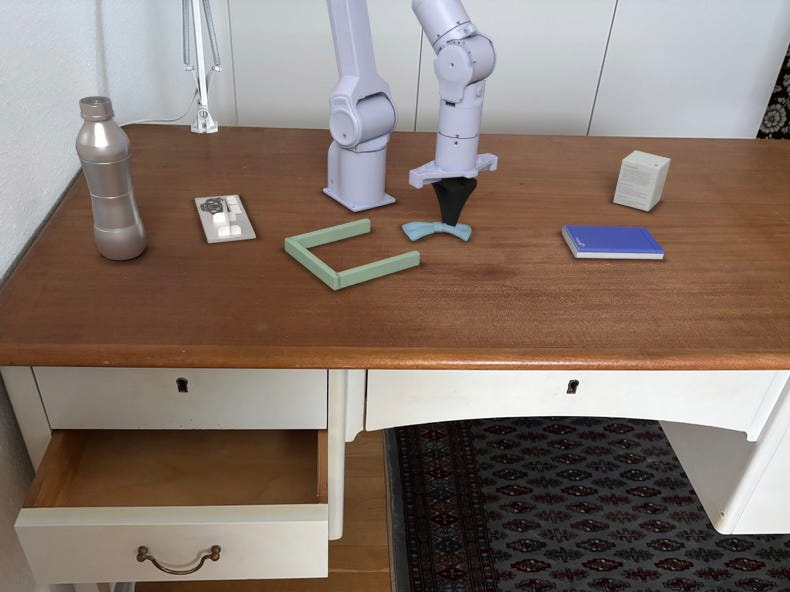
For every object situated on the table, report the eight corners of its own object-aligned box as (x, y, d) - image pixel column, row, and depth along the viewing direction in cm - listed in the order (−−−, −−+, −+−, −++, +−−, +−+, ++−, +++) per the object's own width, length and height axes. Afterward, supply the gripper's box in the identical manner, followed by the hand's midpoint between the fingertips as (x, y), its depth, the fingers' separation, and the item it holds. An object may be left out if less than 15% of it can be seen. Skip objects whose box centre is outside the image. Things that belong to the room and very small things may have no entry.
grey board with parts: (255, 238, 101) (254, 208, 99) (208, 243, 99) (204, 212, 97) (238, 197, 113) (235, 169, 110) (194, 200, 111) (191, 172, 108)
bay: (284, 250, 98) (284, 238, 97) (366, 229, 105) (366, 218, 104) (334, 290, 90) (334, 277, 89) (419, 265, 97) (420, 252, 96)
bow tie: (405, 231, 101) (401, 216, 105) (405, 241, 102) (400, 226, 106) (476, 231, 103) (469, 216, 107) (474, 241, 103) (467, 226, 108)
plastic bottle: (102, 270, 92) (70, 111, 80) (93, 248, 97) (61, 95, 85) (154, 261, 94) (129, 105, 83) (142, 240, 99) (117, 90, 88)
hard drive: (578, 249, 99) (665, 250, 100) (563, 223, 106) (644, 225, 107) (576, 259, 100) (662, 260, 101) (561, 233, 107) (642, 235, 108)
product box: (660, 201, 119) (672, 158, 114) (647, 213, 115) (660, 168, 110) (624, 191, 122) (635, 149, 117) (611, 202, 117) (621, 158, 113)
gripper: (435, 149, 91) (426, 246, 99) (517, 132, 98) (503, 223, 106) (402, 133, 96) (396, 227, 104) (483, 118, 103) (472, 207, 111)
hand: (448, 224), depth 105 cm, fingers closed
